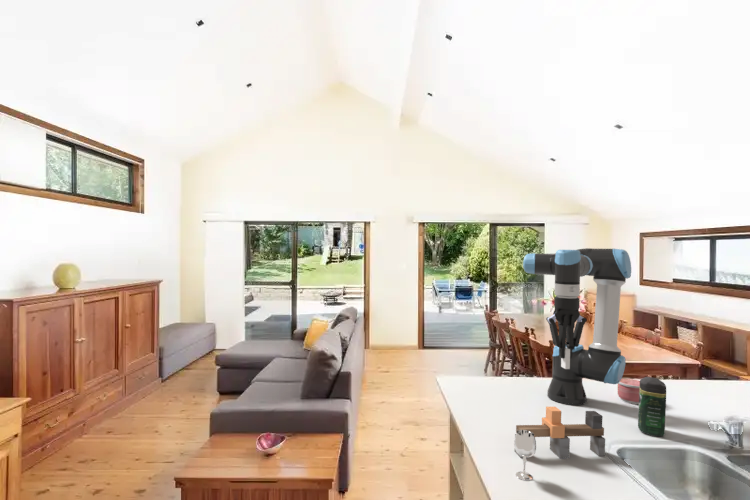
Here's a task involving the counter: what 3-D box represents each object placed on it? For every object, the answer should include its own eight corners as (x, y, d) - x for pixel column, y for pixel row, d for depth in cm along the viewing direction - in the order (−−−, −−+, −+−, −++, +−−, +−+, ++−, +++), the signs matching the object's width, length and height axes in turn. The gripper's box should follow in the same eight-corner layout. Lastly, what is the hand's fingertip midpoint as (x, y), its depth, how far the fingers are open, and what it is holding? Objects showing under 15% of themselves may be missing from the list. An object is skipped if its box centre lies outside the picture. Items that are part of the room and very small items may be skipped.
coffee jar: (666, 439, 142) (668, 385, 142) (639, 434, 146) (641, 380, 146) (662, 428, 151) (664, 377, 151) (636, 423, 155) (638, 373, 155)
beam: (513, 449, 132) (514, 410, 132) (594, 448, 135) (595, 409, 135) (521, 459, 126) (523, 418, 126) (606, 457, 129) (607, 417, 129)
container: (629, 395, 185) (629, 377, 185) (651, 404, 176) (651, 385, 175) (610, 397, 182) (611, 379, 182) (632, 406, 172) (632, 387, 172)
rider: (541, 429, 133) (542, 404, 133) (553, 428, 134) (554, 404, 134) (552, 438, 127) (552, 413, 127) (564, 438, 127) (565, 412, 127)
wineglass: (509, 470, 120) (511, 428, 120) (529, 470, 120) (530, 428, 120) (518, 482, 114) (519, 438, 114) (538, 481, 114) (540, 437, 114)
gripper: (553, 298, 134) (552, 371, 134) (592, 298, 135) (590, 371, 135) (542, 295, 141) (540, 364, 142) (579, 294, 142) (577, 364, 143)
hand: (565, 367), depth 139 cm, fingers closed
